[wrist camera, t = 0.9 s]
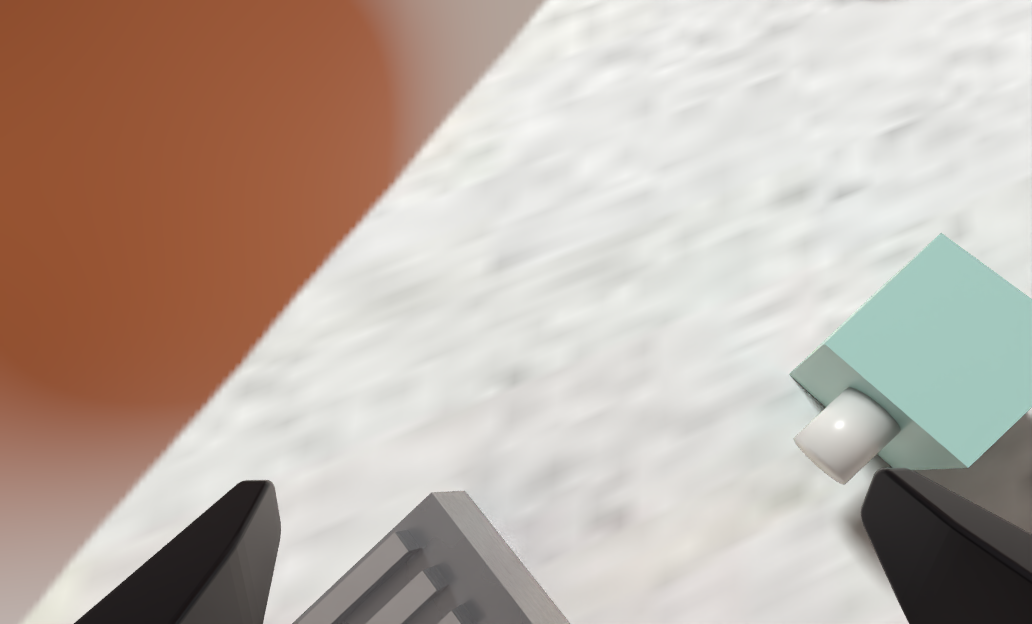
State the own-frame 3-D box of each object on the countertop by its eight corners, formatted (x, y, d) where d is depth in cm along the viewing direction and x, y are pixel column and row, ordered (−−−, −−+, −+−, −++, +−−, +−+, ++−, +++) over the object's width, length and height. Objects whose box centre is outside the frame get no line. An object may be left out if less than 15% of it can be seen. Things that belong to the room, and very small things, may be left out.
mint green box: (992, 378, 23) (1096, 346, 18) (848, 515, 23) (906, 526, 18) (879, 288, 25) (941, 232, 19) (744, 415, 25) (767, 396, 19)
